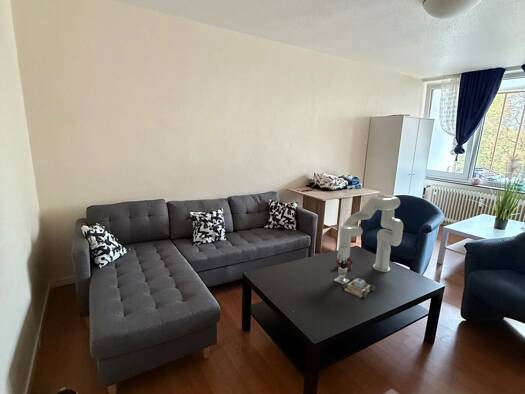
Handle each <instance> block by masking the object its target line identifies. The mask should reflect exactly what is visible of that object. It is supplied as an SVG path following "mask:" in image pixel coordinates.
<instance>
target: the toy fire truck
mask: <svg viewBox="0 0 525 394" xmlns="http://www.w3.org/2000/svg"><path fill="white" fill-rule="evenodd" d="M336 259H337V258H336ZM336 266H337V267H338V268H339V267H341V263H340V262H339V259H337V260H336ZM353 267H354V262H353V261H352V258H351V257H349V258H348V259H347V262H346V268H347V271H350V270H351V269H352V268H353Z"/></svg>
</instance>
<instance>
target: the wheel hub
mask: <svg viewBox="0 0 525 394" xmlns="http://www.w3.org/2000/svg"><path fill="white" fill-rule="evenodd" d="M337 269H338V271H337V273H338V274H342V275H345V276H346V275H347V274H348V270H347V268H345V269H343V268H341V267H339V266H338V268H337Z"/></svg>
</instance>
